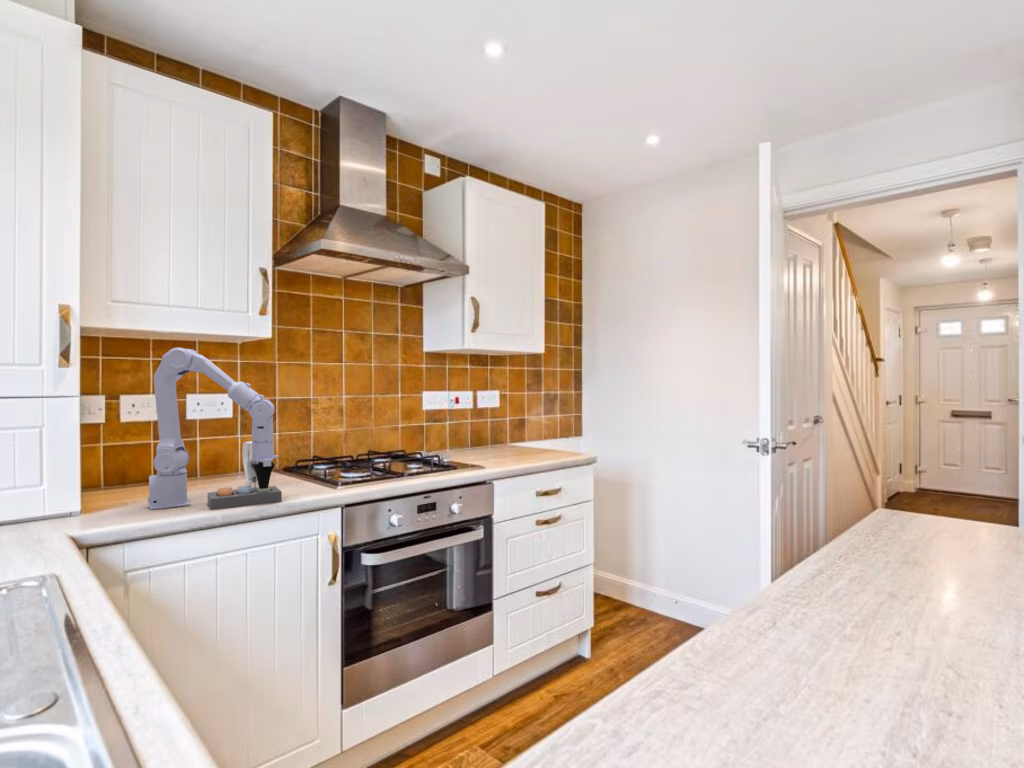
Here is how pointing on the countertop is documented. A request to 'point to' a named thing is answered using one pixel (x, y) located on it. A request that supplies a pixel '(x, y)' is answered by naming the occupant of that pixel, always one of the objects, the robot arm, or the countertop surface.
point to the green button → (263, 489)
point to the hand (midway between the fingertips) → (263, 488)
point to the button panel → (244, 498)
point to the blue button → (244, 489)
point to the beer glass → (249, 465)
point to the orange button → (224, 491)
